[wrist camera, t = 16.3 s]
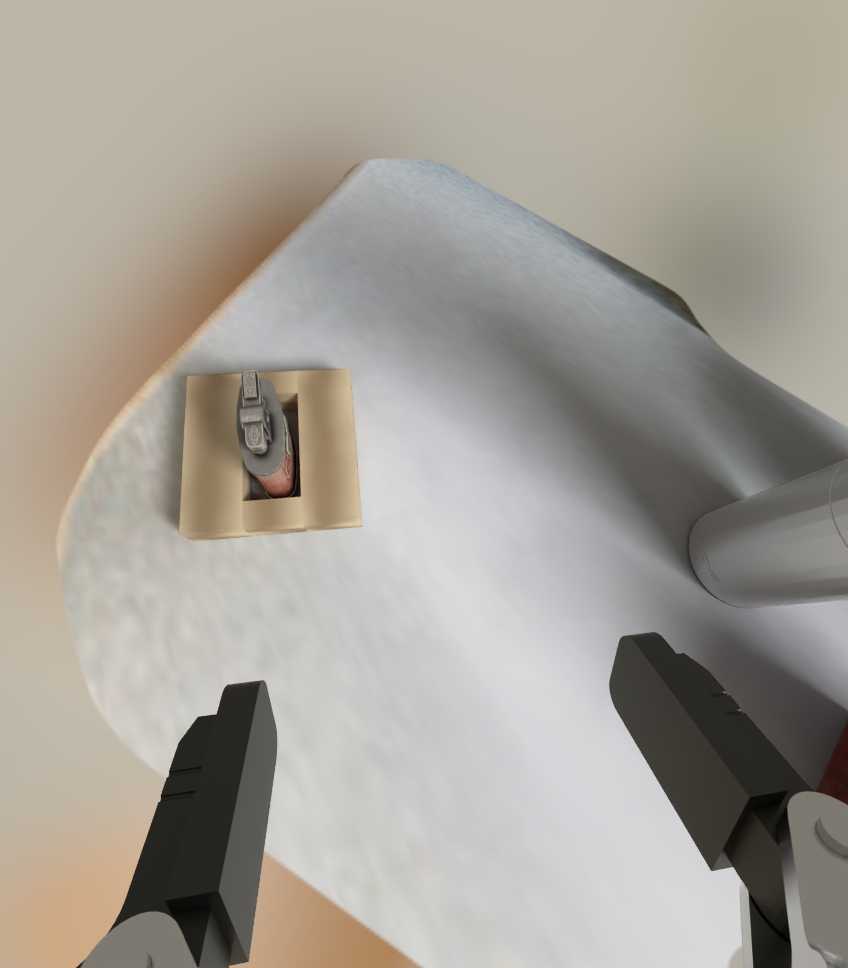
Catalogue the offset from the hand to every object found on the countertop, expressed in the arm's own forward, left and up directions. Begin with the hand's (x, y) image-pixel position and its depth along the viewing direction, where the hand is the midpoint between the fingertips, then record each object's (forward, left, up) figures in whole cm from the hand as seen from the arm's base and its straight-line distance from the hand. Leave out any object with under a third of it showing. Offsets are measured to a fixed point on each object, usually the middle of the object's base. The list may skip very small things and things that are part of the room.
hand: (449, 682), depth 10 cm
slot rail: (+9, -18, -29) cm, 35 cm away
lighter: (+9, -17, -29) cm, 35 cm away
